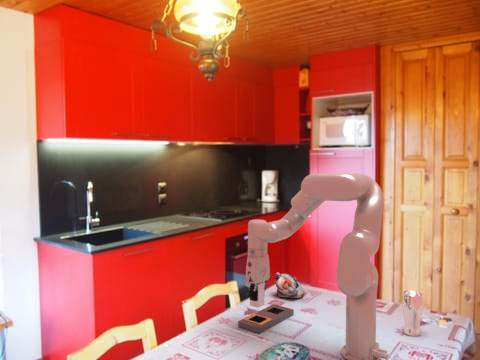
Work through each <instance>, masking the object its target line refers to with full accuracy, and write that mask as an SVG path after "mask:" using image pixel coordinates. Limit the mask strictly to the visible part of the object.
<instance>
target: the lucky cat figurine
mask: <svg viewBox="0 0 480 360" xmlns="http://www.w3.org/2000/svg"><path fill="white" fill-rule="evenodd" d="M275 287H276V295H278V297H279V298H280V297H281V298H282V297H283V298H290V299H291V298H294V299H303V297H304V296H305V295H306V292H305V290H304V289H303V287H302V285H301V284H300V282H298V278H297V277H295V276H293V277H292V276H291V275H290V274H288V273H280V272H276V273H275Z"/></svg>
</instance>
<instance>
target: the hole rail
mask: <svg viewBox="0 0 480 360" xmlns="http://www.w3.org/2000/svg"><path fill="white" fill-rule="evenodd" d="M293 316H294V309H293V308H289V307H287V306H286V307H285V306H282V305H278V304H274V303H273V304H270V305H269V306H267V307H265V308H263V309H261V310H259V311H256V312H254V313H252V314H250V315H248V316H246V317H244V318H241V319H240V320H238V321H237V327H238V328H237V329H241V330H245V331H247V332H250V333H254V334H256V335H261V334H263V333H264V332H266V331H267V330H270V329H272V328H273V327H275V326H277V325H279V324H281V323H283V322H284V321H286V320H288V319H291V317H293Z"/></svg>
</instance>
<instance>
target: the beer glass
mask: <svg viewBox="0 0 480 360" xmlns="http://www.w3.org/2000/svg"><path fill="white" fill-rule="evenodd" d="M402 292H403V294H402V301H401V302H402V313H403V317H404V325H403V333H404V334H405V335H407V336H410V337H420V336H422V331H421V320H422V315H423V309H424V307H423V304H424V301H423V294H422V292H419V291H416V290H404V291H402Z"/></svg>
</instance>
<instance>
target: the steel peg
mask: <svg viewBox="0 0 480 360" xmlns="http://www.w3.org/2000/svg"><path fill="white" fill-rule="evenodd" d="M252 285H253V286H254V284H252ZM256 291H257V301H253V300H250V299H249V306H251V307H254V308H261V307H263V306H264V305H265V295H264V282H261V283H258V284H257V288H256Z"/></svg>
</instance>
